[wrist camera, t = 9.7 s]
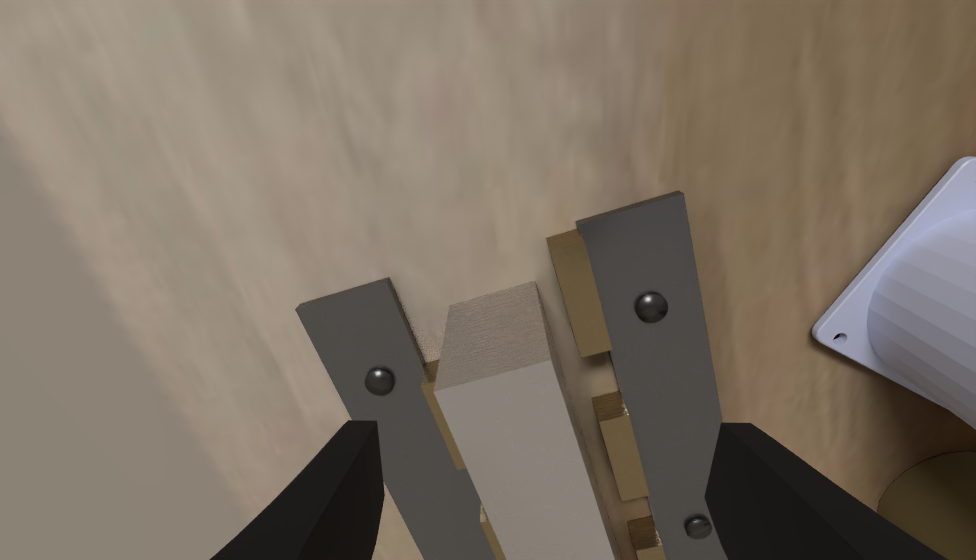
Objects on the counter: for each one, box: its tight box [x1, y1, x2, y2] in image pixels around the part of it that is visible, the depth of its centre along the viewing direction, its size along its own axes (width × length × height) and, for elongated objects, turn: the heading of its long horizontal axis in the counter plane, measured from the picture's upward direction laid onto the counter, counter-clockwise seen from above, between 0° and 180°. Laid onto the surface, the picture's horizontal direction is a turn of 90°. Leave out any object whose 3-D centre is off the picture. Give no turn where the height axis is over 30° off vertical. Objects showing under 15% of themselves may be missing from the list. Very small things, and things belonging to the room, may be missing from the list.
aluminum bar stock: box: [434, 281, 622, 560], centre depth 20 cm, size 4×16×6 cm, turn 18°
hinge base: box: [295, 191, 728, 560], centre depth 21 cm, size 15×20×2 cm
